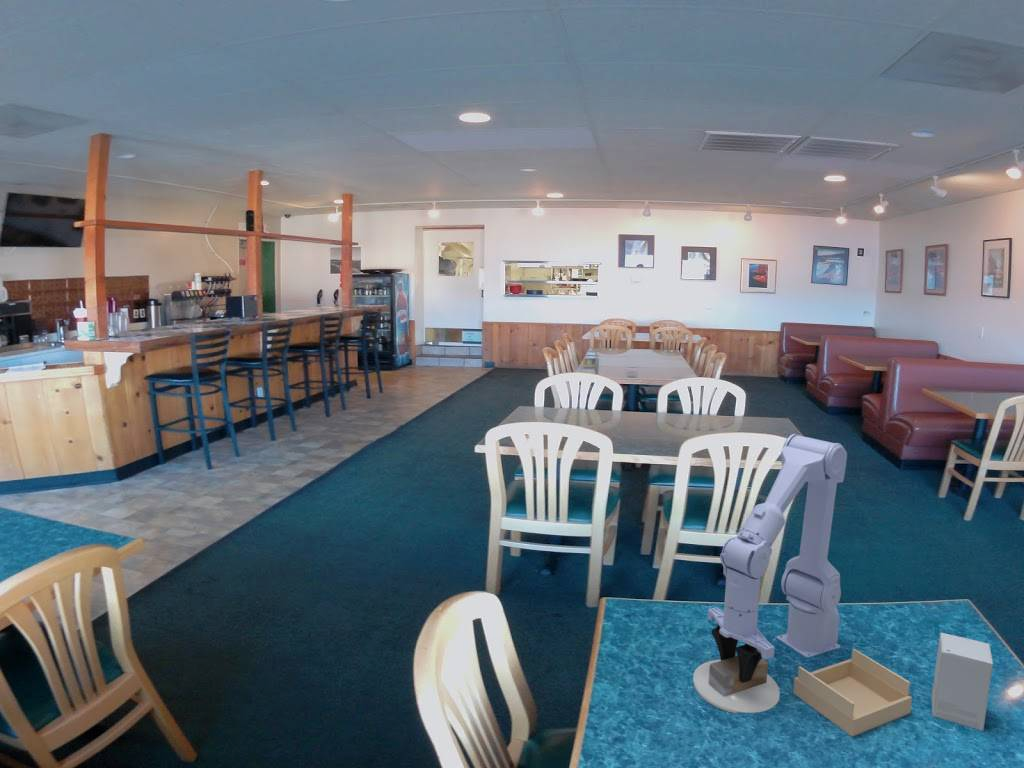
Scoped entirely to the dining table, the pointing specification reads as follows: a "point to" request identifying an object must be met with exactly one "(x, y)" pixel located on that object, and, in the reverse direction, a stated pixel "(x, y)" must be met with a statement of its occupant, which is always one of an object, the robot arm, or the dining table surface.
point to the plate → (736, 694)
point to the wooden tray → (855, 693)
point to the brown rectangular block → (734, 676)
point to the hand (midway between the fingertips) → (736, 673)
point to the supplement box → (962, 680)
